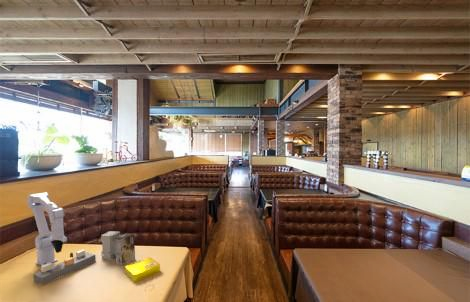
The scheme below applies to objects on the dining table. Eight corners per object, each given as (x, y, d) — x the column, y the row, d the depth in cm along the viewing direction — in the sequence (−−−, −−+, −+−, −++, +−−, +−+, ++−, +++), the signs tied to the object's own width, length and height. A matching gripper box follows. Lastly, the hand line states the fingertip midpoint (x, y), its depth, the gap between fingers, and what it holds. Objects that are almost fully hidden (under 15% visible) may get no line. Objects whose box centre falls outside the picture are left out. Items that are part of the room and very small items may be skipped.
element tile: (149, 263, 142) (149, 255, 142) (161, 272, 131) (161, 263, 131) (124, 273, 131) (123, 265, 131) (134, 284, 121) (134, 274, 121)
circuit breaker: (121, 260, 147) (120, 236, 146) (101, 258, 150) (100, 235, 149) (129, 254, 154) (128, 232, 154) (110, 253, 157) (109, 231, 157)
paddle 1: (41, 271, 127) (41, 265, 127) (49, 267, 131) (49, 262, 131) (43, 272, 126) (43, 266, 126) (52, 268, 130) (52, 263, 130)
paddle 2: (76, 257, 144) (75, 252, 144) (82, 254, 147) (82, 249, 147) (78, 257, 142) (78, 252, 142) (85, 254, 146) (85, 250, 146)
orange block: (64, 265, 133) (64, 260, 133) (71, 262, 137) (71, 257, 137) (66, 266, 132) (66, 260, 132) (74, 262, 136) (74, 257, 136)
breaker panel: (33, 281, 125) (33, 274, 125) (86, 258, 150) (86, 252, 150) (42, 285, 121) (42, 277, 121) (95, 261, 147) (95, 254, 146)
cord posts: (43, 272, 133) (42, 263, 133) (72, 260, 147) (72, 252, 147) (44, 273, 132) (44, 264, 132) (73, 260, 146) (73, 252, 146)
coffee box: (129, 257, 150) (128, 232, 150) (135, 259, 147) (134, 234, 147) (115, 263, 142) (114, 237, 142) (121, 266, 139) (120, 239, 139)
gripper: (43, 229, 139) (44, 252, 139) (56, 233, 132) (57, 257, 133) (56, 226, 145) (57, 248, 145) (70, 229, 139) (71, 251, 139)
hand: (58, 252), depth 139 cm, fingers closed
